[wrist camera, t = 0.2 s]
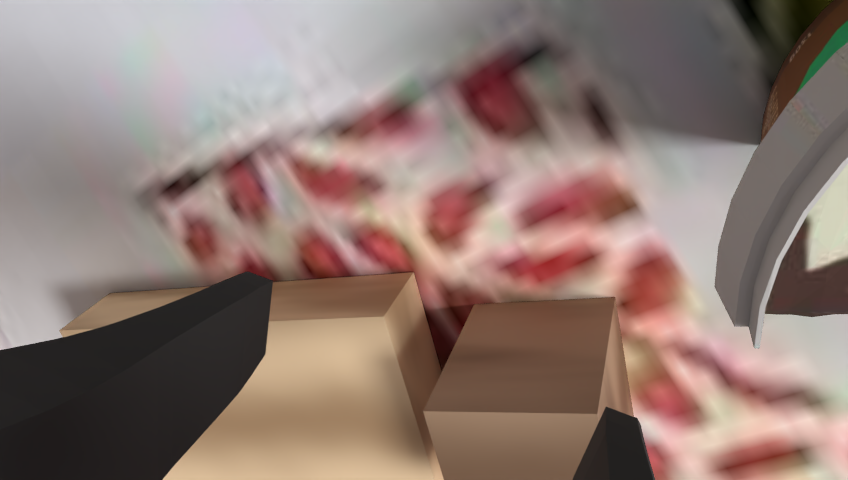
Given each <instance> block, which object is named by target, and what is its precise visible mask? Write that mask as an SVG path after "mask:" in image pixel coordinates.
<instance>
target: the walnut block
mask: <svg viewBox="0 0 848 480" xmlns="http://www.w3.org/2000/svg"><path fill="white" fill-rule="evenodd" d="M605 407H609V408H611V409H614V410H617V411H619V412H622V413H625V414H627V415H630V416H634V415H633V408H632V402H631V396H630V389H629V383H628V376H627V370H626V364H625V357H624V351H623V344H622V338H621V332H620V325H619V319H618V312H617V306H616V299H615V297H611V298H590V299H570V300H549V301H528V302H507V303H486V304H474V306H473V308H472V310H471V312H470V314H469V316H468V318H467V320H466V322H465V325H464V327H463V329H462V331H461V333H460V335H459V337H458V339H457V341H456V343H455V345H454V348H453V350H452V352H451V354H450V356H449V358H448V360H447V362H446V364H445V366H444V368H443V371H442V373H441V375H440V377H439V379H438V381H437V383H436V385H435V387H434V389H433V392H432V394H431V396H430V398H429V400H428V402H427V404H426V406H425V408H424V410H423V413H424V416H425V419H426V423H427V426H428V429H429V432H430V436H431V439H432V442H433V446H434V449H435V452H436V456H437V459H438V462H439V465H440V469H441V472H442V475H443V479H444V480H573V477H574V475H575V472H576V470H577V468H578V466H579V464H580V462H581V459H582V457H583V455H584V453H585V451H586V449H587V446H588V444H589V442H590V440H591V438H592V436H593V433H594V431H595V429H596V427H597V425H598V423H599V420H600V418H601V416H602V414H603V412H604V410H605Z"/></svg>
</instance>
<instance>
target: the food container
mask: <svg viewBox="0 0 848 480" xmlns="http://www.w3.org/2000/svg"><path fill="white" fill-rule="evenodd" d="M715 288H716V290H717V292H718V294H719V296H720V298H721V300H722V302H723V304H724V306H725V308H726V310H727V312H728V314H729V316H730V318H731V320H732V322H733V324H734V326H735V327H745V326H749V330H750V334H751V338H752V341H753V345H754V348H760V342H761V335H762V328H763V321H764V314H792V315H801V316H809V317H815V316H823V315H831V314H848V0H834V1H832V2H831V3H830V4H829V5H828V6H827V7H826V8H825V9H823V10H822V12H821V13H820V14H819V15H818V16H817V17H816V19H815V20H814V21H813V22H812V23H811V24H810V25H809V27H808V28H807V29H806V30H805V31H804V32H803V34H802V35H801V36H800V38H799V39H798V41H797V42H796V44H795V45H794V47H793V48H792V50H791V51H790V53H789V54H788V56H787V58H786V59H785V61H784V62H783V64H782V66H781V69H780V71H779V73H778V75H777V77H776V79H775V82H774V84H773V86H772V88H771V91H770V94H769V98H768V102H767V105H766V109H765V112H764V116H763V124H762V134H761V143H760V145H759V146H758V147H757V149H756V150H755V152H754V154H753V156H752V158H751V160H750V162H749V164H748V167H747V169H746V171H745V173H744V175H743V177H742V179H741V181H740V183H739V185H738V187H737V189H736V191H735V194H734V196H733V198H732V200H731V204H730V207H729V211H728V214H727V218H726V221H725V225H724V228H723V232H722V235H721V239H720V242H719V246H718V256H717V266H716V277H715Z"/></svg>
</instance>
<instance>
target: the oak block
mask: <svg viewBox="0 0 848 480" xmlns="http://www.w3.org/2000/svg"><path fill="white" fill-rule="evenodd" d="M208 287H210V286H208ZM208 287H194V288H179V289H165V290H151V291H136V292H122V293H110V294H108V295H107V296H105V297H104V298H103V299H101V300H100V301H99V302H97V303H96V304H95V305H93V306H92V307H90V308H89V309H88V310H86V311H85V312H84V313H82V314H81V315H80V316H78V317H77V318H76V319H74V320H73V321H71V322H70V323H69V324H67V325H66V326H65V327H63V328H62V329H61V330H59V331H60V333H61V335H62V336H63V337H67V336H70V335H74V334H78V333H82V332H86V331H89V330H93V329H96V328H100V327H103V326H106V325H109V324H113V323H116V322H119V321H121V320H124V319H127V318H130V317H133V316H136V315H138V314H141V313H144V312H147V311H150V310H153V309H155V308H158V307H161V306H164V305H166V304H169V303H171V302H173V301H176V300H178V299H181V298H183V297H186V296H188V295H191V294H193V293H196V292H198V291H201V290H203V289H205V288H208ZM441 373H442V371H441V368H440V364H439V361H438V357H437V353H436V350H435V346H434V343H433V339H432V336H431V332H430V329H429V325H428V322H427V318H426V315H425V311H424V308H423V304H422V300H421V297H420V293H419V290H418V286H417V283H416V279H415V276H414V272H410V273H396V274H381V275H367V276H352V277H338V278H324V279H309V280H295V281H280V282H273V285H272V295H271V305H270V315H269V324H268V334H267V344H266V354H265V356H264V357H263V359H262V360H261V362H260V363H259V365H258V366H257V368H256V369H255V371H254V372H253V374H252V375H251V377H250V378H249V380H248V381H247V383H246V384H245V385H244V387H243V388H242V390H241V391H240V392H239V394H238V395H237V396H236V397H235V398H234V399H233V400H232V402H231V403H230V404H229V405H228V406H227V407H226V408H225V410H224V411H223V412H222V413H221V414H220V415H219V416H218V417H217V419H216V420H215V421H214V422H213V423H212V424H211V425H210V426H209V427H208V429H207V430H206V431H205V432H204V433H203V434H202V435H201V436H200V437H199V439H198V440H197V441H196V442H195V443H194V444H193V445H192V446H191V447H190V449H189V450H188V451H187V452H186V453H185V454H184V455H183V456H182V457H181V459H180V460H179V461H178V462H177V463H176V464H175V465H174V466H173V468H172V469H171V470H170V471H169V472H168V474H167V475H166V476H165V477H164V478H163V480H444V479H443V475H442V472H441V469H440V465H439V462H438V459H437V456H436V452H435V449H434V446H433V442H432V439H431V436H430V432H429V429H428V426H427V423H426V419H425V416H424V413H423V410H424V408H425V406H426V404H427V402H428V400H429V398H430V396H431V394H432V392H433V389H434V387H435V385H436V383H437V381H438V379H439V377H440V375H441Z"/></svg>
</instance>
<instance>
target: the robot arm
mask: <svg viewBox="0 0 848 480" xmlns="http://www.w3.org/2000/svg"><path fill="white" fill-rule="evenodd" d="M272 285H273V281H272V280H269V279H267V278H264V277H261V276H259V275H256V274H253V273H251V272H248V271H247V272H245V273H242V274H239V275H237V276H234V277H232V278H229V279H227V280H224V281H222V282H220V283H217V284H215V285H213V286H210V287H208V288H205V289H203V290H201V291H198V292H196V293H193V294H191V295H188V296H186V297H183V298H181V299H178V300H176V301H173V302H171V303H169V304H166V305H164V306H161V307H158V308H155V309H153V310H150V311H147V312H144V313H141V314H138V315H136V316H133V317H130V318H127V319H124V320H121V321H119V322H116V323H113V324H109V325H106V326H103V327H100V328H96V329H93V330H89V331H86V332H82V333H78V334H74V335H70V336H67V337H63V338H58V339H54V340H49V341H44V342H39V343H35V344H30V345H25V346H20V347H15V348H10V349H4V350H0V480H163V478H164V477H165V476H166V475H167V474H168V472H169V471H170V470H171V469H172V468H173V466H174V465H175V464H176V463H177V462H178V461H179V460H180V459H181V457H182V456H183V455H184V454H185V453H186V452H187V451H188V450H189V449H190V447H191V446H192V445H193V444H194V443H195V442H196V441H197V440H198V439H199V437H200V436H201V435H202V434H203V433H204V432H205V431H206V430H207V429H208V427H209V426H210V425H211V424H212V423H213V422H214V421H215V420H216V419H217V417H218V416H219V415H220V414H221V413H222V412H223V411H224V410H225V408H226V407H227V406H228V405H229V404H230V403H231V402H232V400H233V399H234V398H235V397H236V396H237V395H238V394H239V392H240V391H241V390H242V388H243V387H244V385H245V384H246V383H247V381H248V380H249V378H250V377H251V375H252V374H253V372H254V371H255V369H256V368H257V366H258V365H259V363H260V362H261V360H262V359H263V357H264V356H265V354H266V344H267V334H268V324H269V315H270V305H271V295H272ZM573 480H655V478H654V474H653V471H652V467H651V464H650V461H649V457H648V453H647V450H646V446H645V442H644V438H643V434H642V429H641V425H640V423H639V421H638V419H637V418H635V417H633V416H630V415H627V414H625V413H622V412H619V411H617V410H614V409H611V408H609V407H605V410H604V412H603V414H602V416H601V418H600V420H599V423H598V425H597V427H596V429H595V431H594V433H593V436H592V438H591V440H590V442H589V444H588V446H587V449H586V451H585V453H584V455H583V457H582V459H581V462H580V464H579V466H578V468H577V470H576V472H575V475H574V477H573Z"/></svg>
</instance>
